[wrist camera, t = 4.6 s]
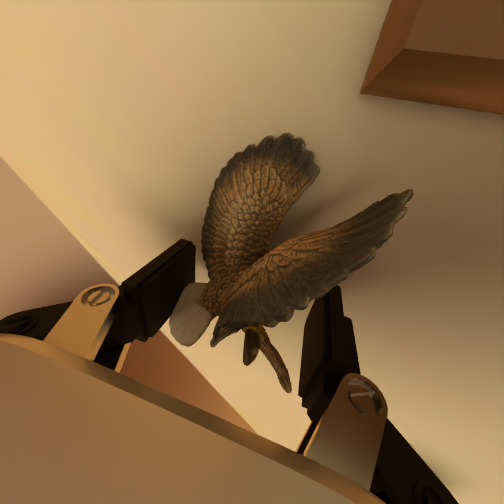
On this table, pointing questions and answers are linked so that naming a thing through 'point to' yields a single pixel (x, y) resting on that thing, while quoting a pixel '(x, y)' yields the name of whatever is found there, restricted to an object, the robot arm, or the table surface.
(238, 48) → the table surface
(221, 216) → the eagle figurine
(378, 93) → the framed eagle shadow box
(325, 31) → the table surface
